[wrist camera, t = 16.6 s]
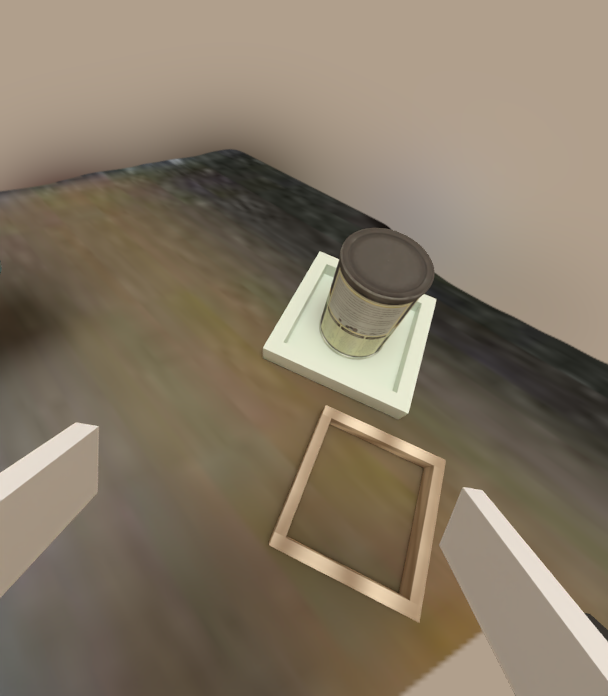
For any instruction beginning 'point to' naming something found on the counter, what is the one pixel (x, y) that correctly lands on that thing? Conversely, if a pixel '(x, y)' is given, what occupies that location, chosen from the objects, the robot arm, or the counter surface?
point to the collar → (422, 526)
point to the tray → (343, 373)
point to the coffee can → (373, 291)
